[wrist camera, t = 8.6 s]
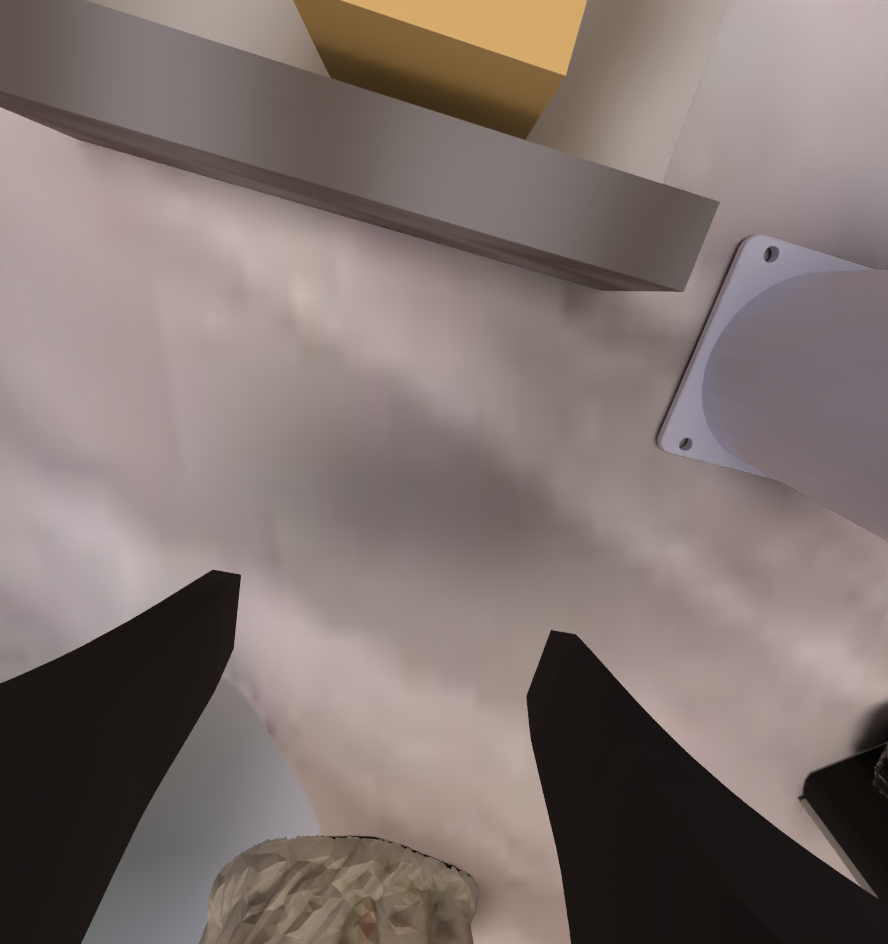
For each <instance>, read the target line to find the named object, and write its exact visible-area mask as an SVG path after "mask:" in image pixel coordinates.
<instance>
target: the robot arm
mask: <svg viewBox="0 0 888 944" xmlns="http://www.w3.org/2000/svg"><path fill="white" fill-rule="evenodd" d="M768 247H769V248H770V249H771V252H772V255H771V258H770V259H769V261H767V262H766V261H765V260H764V252H765V251H766V249H767V248H768ZM684 438H687V439H688V441H687V444H686V445H685V446H684V447H681V448H680V447H679V443H680V441H681V440H682V439H684ZM657 441H658V445H659V447H660V448H661V449H663V450H664V451H666V452H668V453H671V454H675V455H679V456H683V457H687V458H691V459H695V460H699V461H703V462H707V463H711V464H715V465H719V466H723V467H727V468H731V469H735V470H739V471H743V472H747V473H751V474H755V475H758V476H762V477H766V478H770V479H774V480H778V481H780V482H782V483H783V484H785V485H787V486H789V487H791V488H792V489H794V490H796V491H798V492H800V493H801V494H803V495H805V496H807V497H809V498H810V499H812V500H814V501H816V502H818V503H819V504H821V505H823V506H825V507H827V508H828V509H830V510H832V511H834V512H836V513H837V514H839V515H841V516H843V517H845V518H846V519H848V520H850V521H852V522H854V523H855V524H857V525H859V526H861V527H863V528H864V529H866V530H868V531H870V532H872V533H873V534H875V535H877V536H879V537H881V538H882V539H884V540H886V541H888V269H879V270H875V269H872V268H869V267H866V266H863V265H860V264H856V263H853V262H850V261H847V260H844V259H840V258H837V257H834V256H831V255H828V254H824V253H821V252H818V251H815V250H812V249H808V248H805V247H802V246H799V245H796V244H793V243H789V242H786V241H783V240H780V239H777V238H773V237H770V236H767V235H762V234H757V235H752V236H750V237H747V238H746V239H745V240H744V241H743V242H742V243H741V245H740V246H739V248H738V251H737V253H736V255H735V258H734V260H733V262H732V265H731V267H730V269H729V272H728V274H727V276H726V279H725V281H724V283H723V286H722V288H721V290H720V293H719V295H718V297H717V300H716V302H715V304H714V307H713V309H712V311H711V314H710V316H709V318H708V321H707V323H706V325H705V328H704V330H703V332H702V335H701V337H700V340H699V342H698V344H697V347H696V349H695V351H694V354H693V356H692V358H691V361H690V363H689V365H688V368H687V370H686V372H685V375H684V377H683V379H682V382H681V384H680V386H679V389H678V391H677V393H676V396H675V398H674V400H673V403H672V405H671V407H670V410H669V412H668V414H667V417H666V419H665V421H664V424H663V426H662V428H661V431H660V433H659V435H658V440H657ZM240 579H241V575H240V574H234V573H228V572H223V571H217V570H212V571H210V572H208V573H207V574H205V575H203V576H202V577H200V578H198V579H197V580H195V581H194V582H192V583H190V584H189V585H187V586H186V587H184V588H182V589H181V590H179V591H178V592H176V593H174V594H173V595H171V596H169V597H168V598H166V599H165V600H163V601H161V602H160V603H158V604H156V605H155V606H153V607H151V608H150V609H148V610H146V611H145V612H143V613H141V614H140V615H138V616H136V617H135V618H133V619H131V620H130V621H128V622H126V623H124V624H122V625H120V626H119V627H117V628H115V629H113V630H111V631H109V632H108V633H106V634H104V635H102V636H100V637H98V638H96V639H95V640H93V641H91V642H89V643H87V644H85V645H84V646H82V647H80V648H78V649H76V650H74V651H72V652H69V653H67V654H65V655H63V656H61V657H59V658H57V659H55V660H53V661H51V662H48V663H46V664H44V665H42V666H40V667H37V668H35V669H33V670H31V671H28V672H26V673H24V674H22V675H19V676H17V677H15V678H12V679H10V680H8V681H5V682H3V683H0V944H81V942H82V940H83V938H84V936H85V934H86V932H87V930H88V928H89V926H90V923H91V921H92V919H93V917H94V915H95V913H96V911H97V908H98V906H99V904H100V902H101V900H102V898H103V895H104V893H105V891H106V889H107V887H108V885H109V883H110V881H111V878H112V876H113V874H114V872H115V870H116V868H117V866H118V864H119V862H120V860H121V858H122V856H123V854H124V852H125V850H126V847H127V845H128V843H129V841H130V839H131V837H132V835H133V833H134V831H135V829H136V827H137V825H138V823H139V821H140V819H141V817H142V815H143V813H144V811H145V809H146V808H147V805H148V804H149V802H150V800H151V798H152V797H153V795H154V793H155V791H156V790H157V788H158V786H159V785H160V783H161V781H162V779H163V778H164V776H165V774H166V773H167V771H168V769H169V767H170V766H171V764H172V762H173V761H174V759H175V758H176V756H177V754H178V753H179V751H180V749H181V748H182V746H183V744H184V742H185V740H186V739H187V738H188V736H189V734H190V732H191V731H192V729H193V727H194V725H195V724H196V722H197V721H198V719H199V717H200V715H201V714H202V712H203V710H204V709H205V707H206V705H207V704H208V702H209V700H210V698H211V697H212V695H213V693H214V691H215V689H216V687H217V685H218V683H219V681H220V678H221V676H222V674H223V672H224V669H225V667H226V665H227V663H228V660H229V658H230V656H231V653H232V651H233V649H234V640H235V630H236V620H237V609H238V599H239V589H240ZM527 707H528V718H529V727H530V735H531V742H532V746H533V751H534V755H535V760H536V764H537V768H538V773H539V777H540V781H541V785H542V790H543V794H544V798H545V802H546V806H547V811H548V815H549V819H550V823H551V827H552V832H553V836H554V840H555V844H556V849H557V854H558V859H559V864H560V869H561V875H562V882H563V888H564V895H565V902H566V909H567V916H568V923H569V930H570V938H571V944H888V904H886V903H885V902H883V901H882V900H880V899H878V898H877V897H875V896H874V895H872V894H870V893H869V892H867V891H866V890H864V889H863V888H861V887H860V886H858V885H857V884H855V883H854V882H852V881H851V880H849V879H848V878H846V877H845V876H843V875H842V874H841V873H839V872H838V871H836V870H835V869H833V868H832V867H830V866H829V865H828V864H826V863H825V862H823V861H822V860H820V859H819V858H818V857H816V856H815V855H813V854H812V853H810V852H809V851H808V850H806V849H805V848H804V847H802V846H801V845H799V844H798V843H797V842H795V841H794V840H793V839H791V838H790V837H789V836H787V835H786V834H784V833H783V832H782V831H780V830H779V829H778V828H777V827H775V826H774V825H773V824H772V823H770V822H769V821H768V820H766V819H765V818H764V817H763V816H761V815H760V814H759V813H757V812H756V811H755V810H754V809H752V808H751V807H750V806H749V805H747V804H746V803H745V802H744V801H742V800H741V799H740V798H739V797H737V796H736V795H735V794H734V793H733V792H731V791H730V790H729V789H728V788H727V787H725V786H724V785H723V784H722V783H721V782H720V781H719V780H718V779H716V778H715V777H714V776H713V775H712V774H711V773H710V772H708V771H707V770H706V769H705V768H704V767H703V766H702V765H701V764H699V763H698V762H697V761H696V760H695V759H694V758H693V757H692V756H691V755H690V754H688V753H687V752H686V751H685V750H684V749H683V748H682V747H681V746H680V745H679V744H678V743H677V742H676V741H675V740H674V739H673V738H672V737H671V736H670V735H669V734H668V733H667V732H666V731H665V730H664V729H663V728H662V727H661V726H660V725H659V724H658V723H657V722H656V721H655V720H654V719H653V718H652V717H651V716H650V715H649V714H648V713H647V712H646V711H645V710H644V709H643V708H642V706H641V705H640V704H639V703H638V702H637V701H636V700H635V699H634V698H633V697H632V696H631V695H630V694H629V692H628V691H627V690H626V689H625V688H624V687H623V686H622V685H621V684H620V682H619V681H618V680H617V679H616V678H615V677H614V676H613V675H612V674H611V672H610V671H609V670H608V669H607V668H606V667H605V666H604V665H603V663H602V662H601V661H600V660H599V659H598V658H597V657H596V656H595V654H594V653H593V652H592V651H591V650H590V649H589V648H588V647H587V646H586V645H585V643H584V642H583V641H582V640H581V639H580V638H579V637H578V636H577V635H576V634H570V633H565V632H559V631H553V630H551V632H550V634H549V637H548V640H547V642H546V645H545V648H544V650H543V653H542V656H541V659H540V661H539V664H538V667H537V669H536V672H535V675H534V677H533V680H532V683H531V685H530V688H529V691H528V694H527Z"/></svg>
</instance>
